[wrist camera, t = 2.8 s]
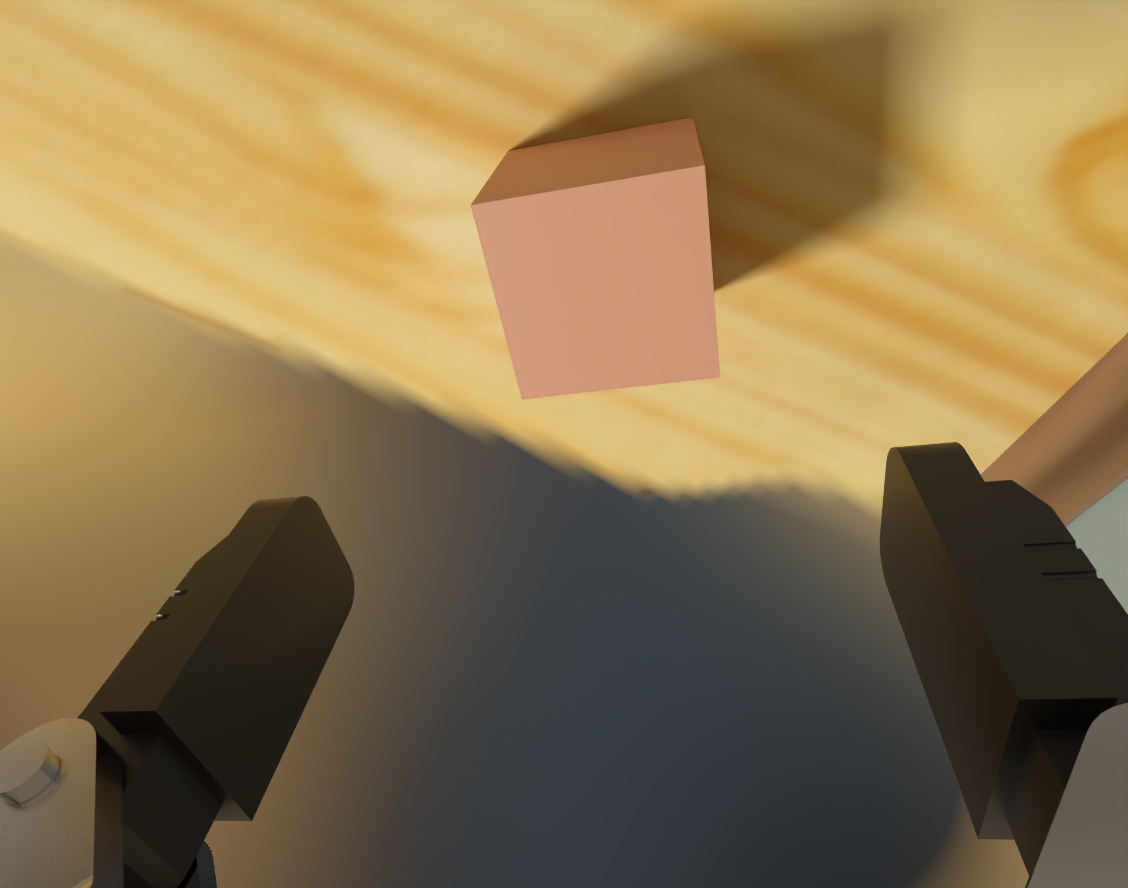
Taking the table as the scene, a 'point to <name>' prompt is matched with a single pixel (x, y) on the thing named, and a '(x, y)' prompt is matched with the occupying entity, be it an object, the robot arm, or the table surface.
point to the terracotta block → (603, 260)
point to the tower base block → (1075, 442)
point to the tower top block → (1107, 539)
